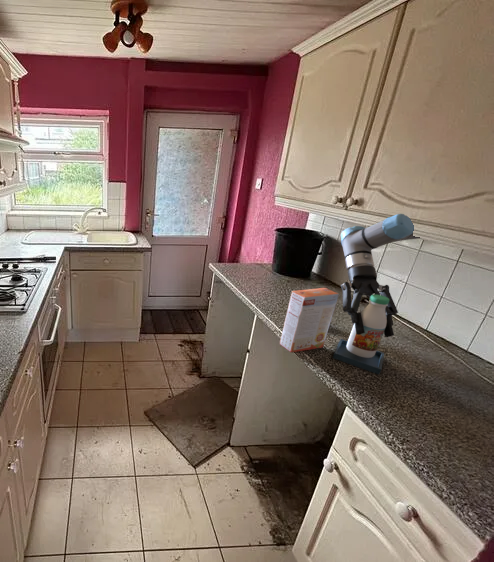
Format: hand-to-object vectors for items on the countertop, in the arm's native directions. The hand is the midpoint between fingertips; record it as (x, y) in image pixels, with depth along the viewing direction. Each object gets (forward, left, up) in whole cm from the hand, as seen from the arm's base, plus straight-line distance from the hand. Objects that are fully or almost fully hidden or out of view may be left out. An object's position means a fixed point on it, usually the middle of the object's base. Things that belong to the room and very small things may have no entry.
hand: (374, 334), depth 97 cm
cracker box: (+18, +3, -11) cm, 21 cm away
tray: (+2, -3, -11) cm, 11 cm away
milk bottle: (+2, -3, -9) cm, 9 cm away
